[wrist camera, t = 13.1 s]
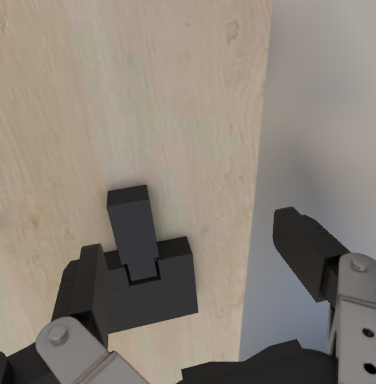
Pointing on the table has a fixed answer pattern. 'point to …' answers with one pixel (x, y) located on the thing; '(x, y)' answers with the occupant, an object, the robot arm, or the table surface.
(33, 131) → the table surface
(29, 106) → the table surface
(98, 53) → the table surface
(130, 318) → the base pad
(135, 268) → the pad
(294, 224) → the robot arm
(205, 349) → the table surface
